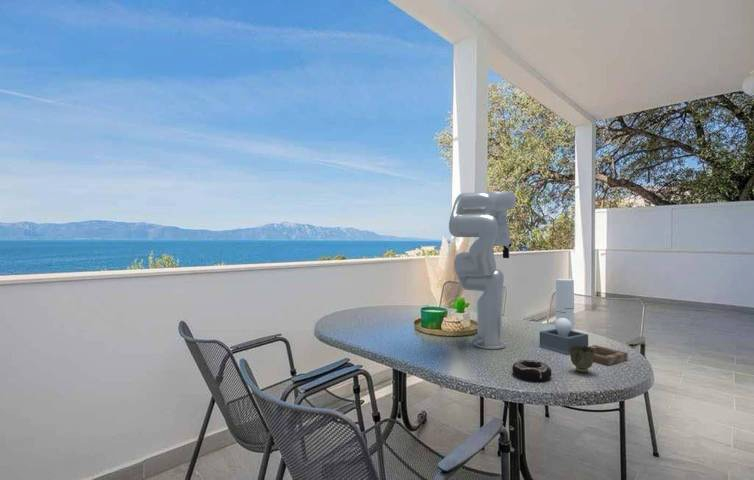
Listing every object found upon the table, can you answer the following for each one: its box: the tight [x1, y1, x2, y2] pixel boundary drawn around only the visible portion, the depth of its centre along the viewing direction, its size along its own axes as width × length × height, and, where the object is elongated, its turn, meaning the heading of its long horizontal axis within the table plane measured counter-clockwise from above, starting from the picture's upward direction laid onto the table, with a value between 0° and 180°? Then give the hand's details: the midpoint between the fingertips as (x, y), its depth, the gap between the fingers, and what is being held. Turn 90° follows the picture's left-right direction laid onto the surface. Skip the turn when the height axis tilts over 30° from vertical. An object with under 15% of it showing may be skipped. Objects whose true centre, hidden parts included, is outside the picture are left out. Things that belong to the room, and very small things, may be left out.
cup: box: [569, 345, 595, 374], centre depth 128 cm, size 8×7×8 cm
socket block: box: [588, 344, 629, 367], centre depth 142 cm, size 12×12×2 cm
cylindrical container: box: [555, 278, 575, 331], centre depth 174 cm, size 7×7×25 cm
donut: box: [511, 359, 552, 382], centre depth 125 cm, size 12×12×4 cm
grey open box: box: [539, 328, 589, 356], centre depth 155 cm, size 12×12×6 cm
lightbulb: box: [554, 318, 572, 337], centre depth 155 cm, size 6×6×11 cm
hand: (498, 258), depth 179 cm, fingers open, 9 cm apart
